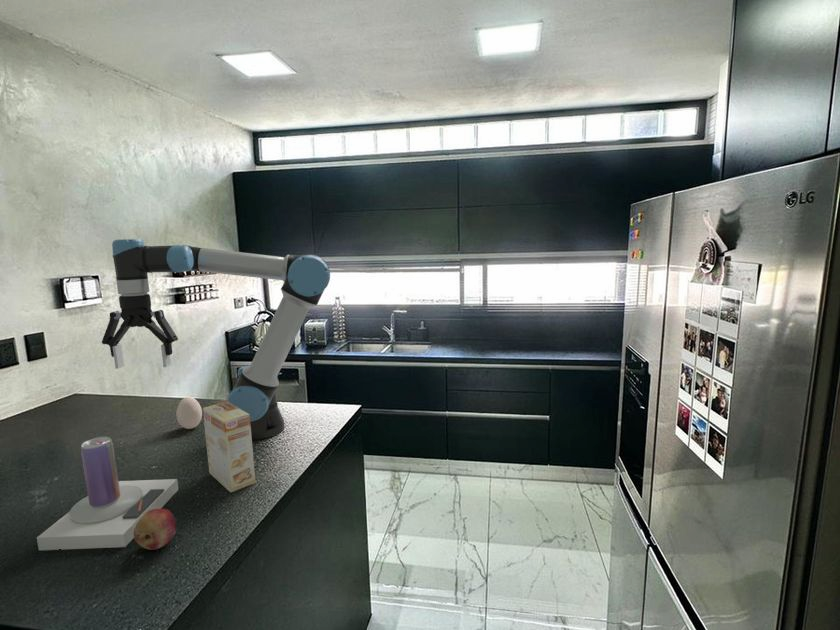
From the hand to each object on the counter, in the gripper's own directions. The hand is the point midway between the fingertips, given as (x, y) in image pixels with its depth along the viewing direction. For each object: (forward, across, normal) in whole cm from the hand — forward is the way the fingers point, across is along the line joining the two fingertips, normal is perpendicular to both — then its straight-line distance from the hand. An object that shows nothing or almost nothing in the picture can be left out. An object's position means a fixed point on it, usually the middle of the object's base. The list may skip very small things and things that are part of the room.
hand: (143, 366), depth 127 cm
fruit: (+29, -23, +40) cm, 54 cm away
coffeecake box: (+29, -28, +13) cm, 42 cm away
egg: (+29, 0, -22) cm, 36 cm away
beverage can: (+25, -5, +29) cm, 39 cm away
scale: (+29, -7, +29) cm, 41 cm away
